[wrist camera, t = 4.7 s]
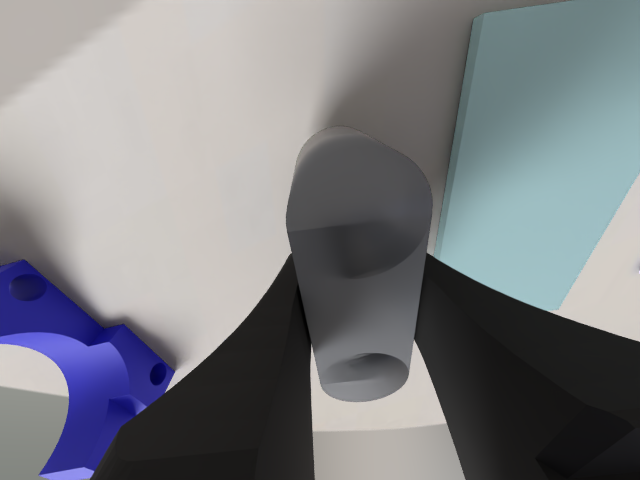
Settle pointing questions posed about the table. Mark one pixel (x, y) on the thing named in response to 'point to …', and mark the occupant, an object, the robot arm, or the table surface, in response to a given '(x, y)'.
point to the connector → (359, 259)
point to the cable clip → (80, 366)
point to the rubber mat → (542, 144)
